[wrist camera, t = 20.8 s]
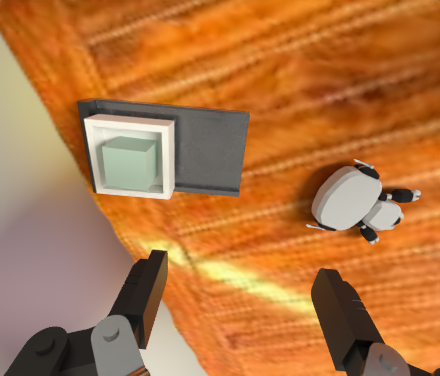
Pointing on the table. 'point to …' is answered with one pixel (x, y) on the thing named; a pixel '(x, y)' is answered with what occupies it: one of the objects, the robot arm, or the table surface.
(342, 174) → the robot toy
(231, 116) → the track
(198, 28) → the table surface
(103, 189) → the white square tray
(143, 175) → the block
